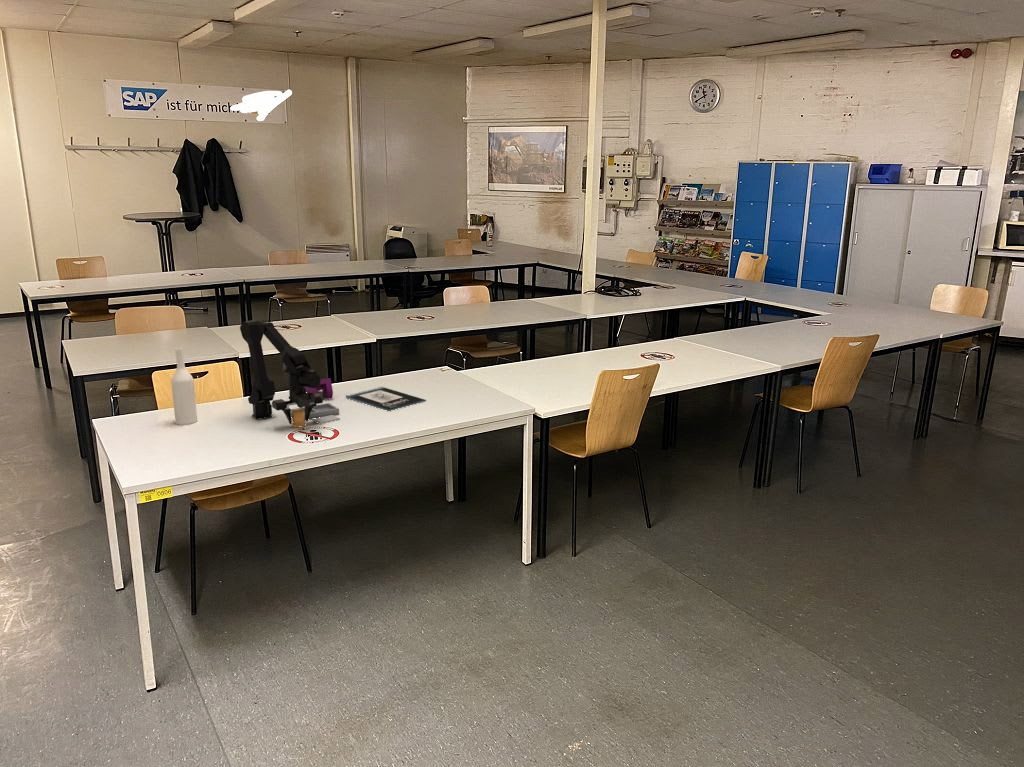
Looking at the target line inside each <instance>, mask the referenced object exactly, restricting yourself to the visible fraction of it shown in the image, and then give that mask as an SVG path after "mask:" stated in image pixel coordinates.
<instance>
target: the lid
mask: <svg viewBox="0 0 1024 767" xmlns="http://www.w3.org/2000/svg"><path fill="white" fill-rule="evenodd" d="M313 420H314V421H316V422H318V423H317V424H319V423H320V424H319V425H322V424H321V423H324V424H327V423H326V422H328V423H332V422H335V420H336V421H340V420H341V418H340V417H338V416H337V415H329V416H325V417H320V418H316V419H312V421H313ZM314 421H313V422H314ZM331 421H332V422H331ZM316 422H315V423H316Z"/></svg>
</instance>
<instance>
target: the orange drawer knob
mask: <svg viewBox="0 0 1024 767" xmlns="http://www.w3.org/2000/svg"><path fill="white" fill-rule="evenodd" d="M294 409H295V410H293V411H292V416H293V419H292V424H291V426H292V427H293V426H296V427H295V428H300V427H299V426H303V427H305V426H306V425H307V424H306V423H307V422H306V421H305V419H304V410H303V409H296V408H294ZM305 424H306V425H305ZM304 425H305V426H304Z"/></svg>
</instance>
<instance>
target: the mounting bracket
mask: <svg viewBox="0 0 1024 767" xmlns="http://www.w3.org/2000/svg"><path fill="white" fill-rule="evenodd" d="M320 379H321V378H320ZM305 389H306V392H307V393H314V394H318V392H319V391H321V392H322V397H323V398H324V399H325V398H326V399H325V400H331V398H332V399H333V397H334V394H333V393H334V390H333V384H332V378H322V379H321V381H320V385H319V386H318V387H317V388H309V387H305Z"/></svg>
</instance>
